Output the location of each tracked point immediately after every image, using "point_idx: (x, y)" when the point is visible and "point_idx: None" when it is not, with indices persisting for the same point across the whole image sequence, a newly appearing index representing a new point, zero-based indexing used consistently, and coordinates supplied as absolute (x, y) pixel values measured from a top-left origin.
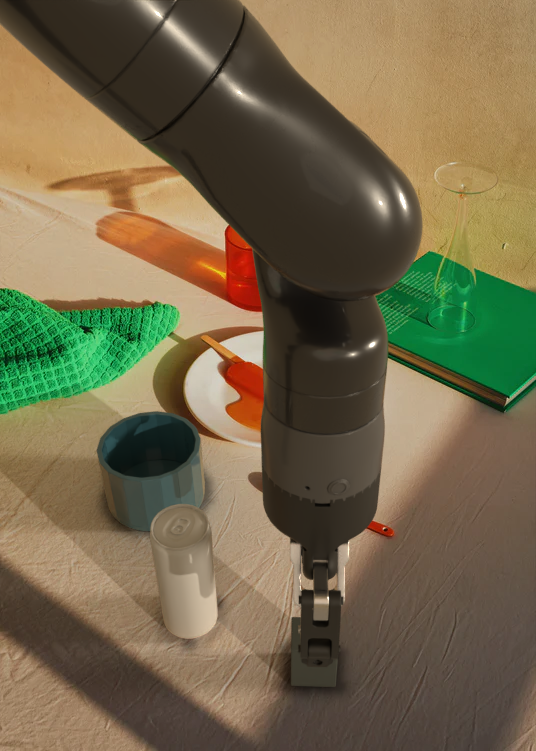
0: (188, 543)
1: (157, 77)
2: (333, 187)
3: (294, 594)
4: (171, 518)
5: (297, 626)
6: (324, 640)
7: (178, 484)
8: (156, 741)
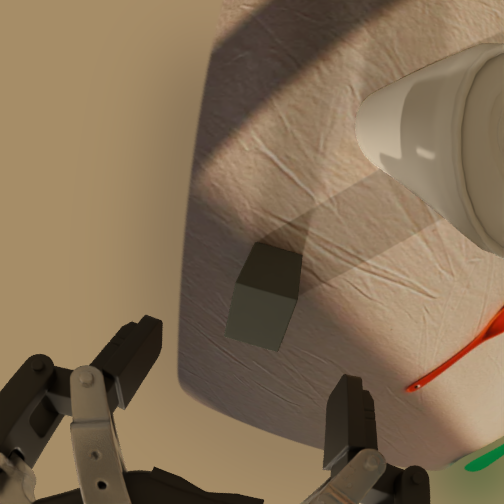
0: (471, 163)
1: None
2: None
3: (72, 441)
4: None
5: (276, 302)
6: (47, 405)
7: None
8: (212, 62)
